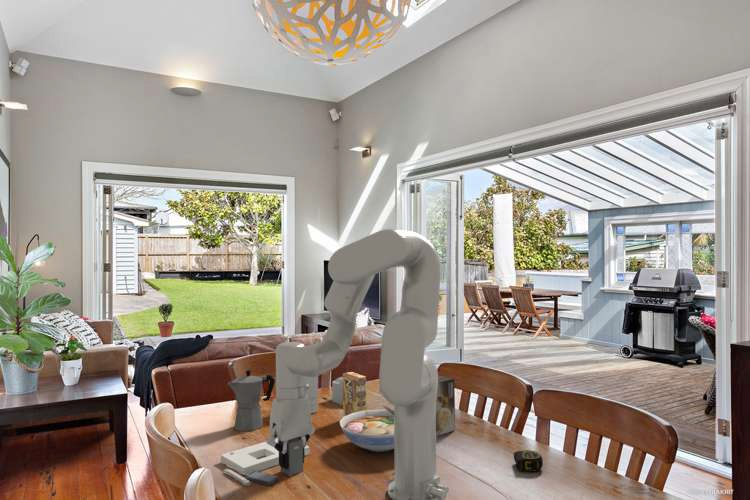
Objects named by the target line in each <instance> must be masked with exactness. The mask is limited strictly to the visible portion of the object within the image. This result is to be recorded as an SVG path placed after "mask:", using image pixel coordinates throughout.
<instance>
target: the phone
mask: <svg viewBox="0 0 750 500" xmlns="http://www.w3.org/2000/svg"><path fill="white" fill-rule="evenodd" d="M244 478H245V479H247V480H249V481H252V482H251V483H255V484H259V483H260V485H263V484H264V486H267V485H268V487H270V486H272V485H273V484H275V483H277V482H278V481H280V476H279V475H274V474H271V473H265V472H261V471H258V472H257V471H254V472H252V473H250V474H249V475H246V476H244Z"/></svg>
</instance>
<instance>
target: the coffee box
mask: <svg viewBox="0 0 750 500" xmlns="http://www.w3.org/2000/svg"><path fill="white" fill-rule="evenodd" d="M455 388H456V387H455V378H453V377H450V376H444V375H438V388H437V398H436V437H440V436H441V435H442V436H443V435H445V434H448V433H450V432H454V431H456V394H455Z"/></svg>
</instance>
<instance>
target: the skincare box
mask: <svg viewBox="0 0 750 500" xmlns="http://www.w3.org/2000/svg"><path fill="white" fill-rule="evenodd" d="M306 384H309V389H307V390H306V395H308V398H309V403H310V409H311V414H317V413H318V411H319V409H318V403H319V402H318V401H319V397H318V396H319V376H316V377H307V376H306ZM316 412H317V413H316Z"/></svg>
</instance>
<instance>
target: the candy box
mask: <svg viewBox="0 0 750 500" xmlns="http://www.w3.org/2000/svg"><path fill="white" fill-rule="evenodd" d="M342 377H343V404H342V406H343V407H342V409H343V412H342V413H343V417H344V416H347V415H349V414H352V413H355V412H360V411H365V410H368V409H367V404H368V403H366V383H367V376H365V375H362V374H359V373H357V372H353V371H351V372H350V371H349V372H343V373H342Z"/></svg>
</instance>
